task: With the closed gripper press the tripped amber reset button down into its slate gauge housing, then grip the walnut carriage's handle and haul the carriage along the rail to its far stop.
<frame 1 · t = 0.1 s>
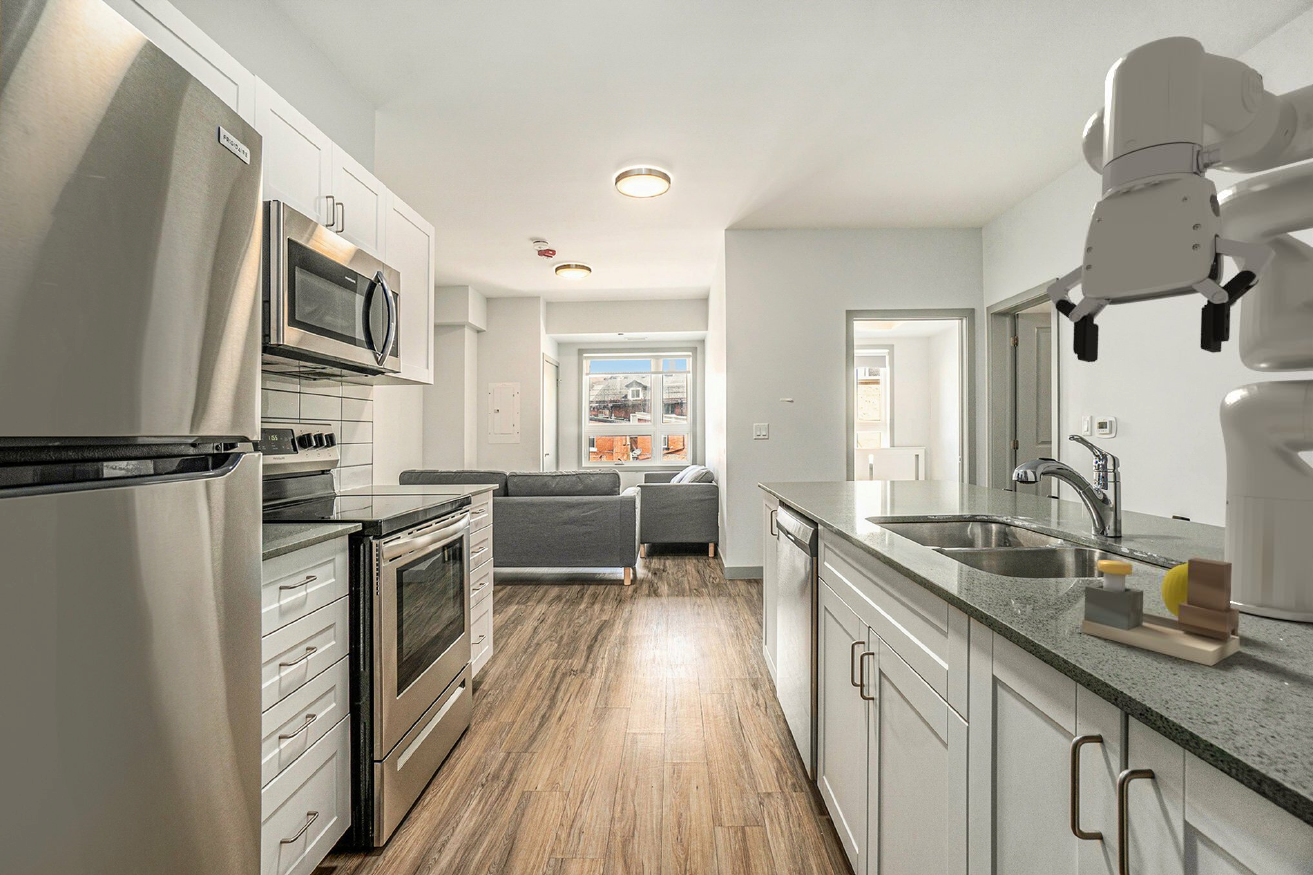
hand: (1144, 356, 57), 31 cm above the countertop, tool pointing down, fingers open, 9 cm apart
carriage: (1208, 596, 65), point 6 cm above the countertop, slide at 0.0 cm
lemon: (1189, 627, 73), on the countertop
reset button: (1114, 584, 69), point 6 cm above the countertop, slide at 0.0 cm
rail base: (1157, 641, 67), on the countertop
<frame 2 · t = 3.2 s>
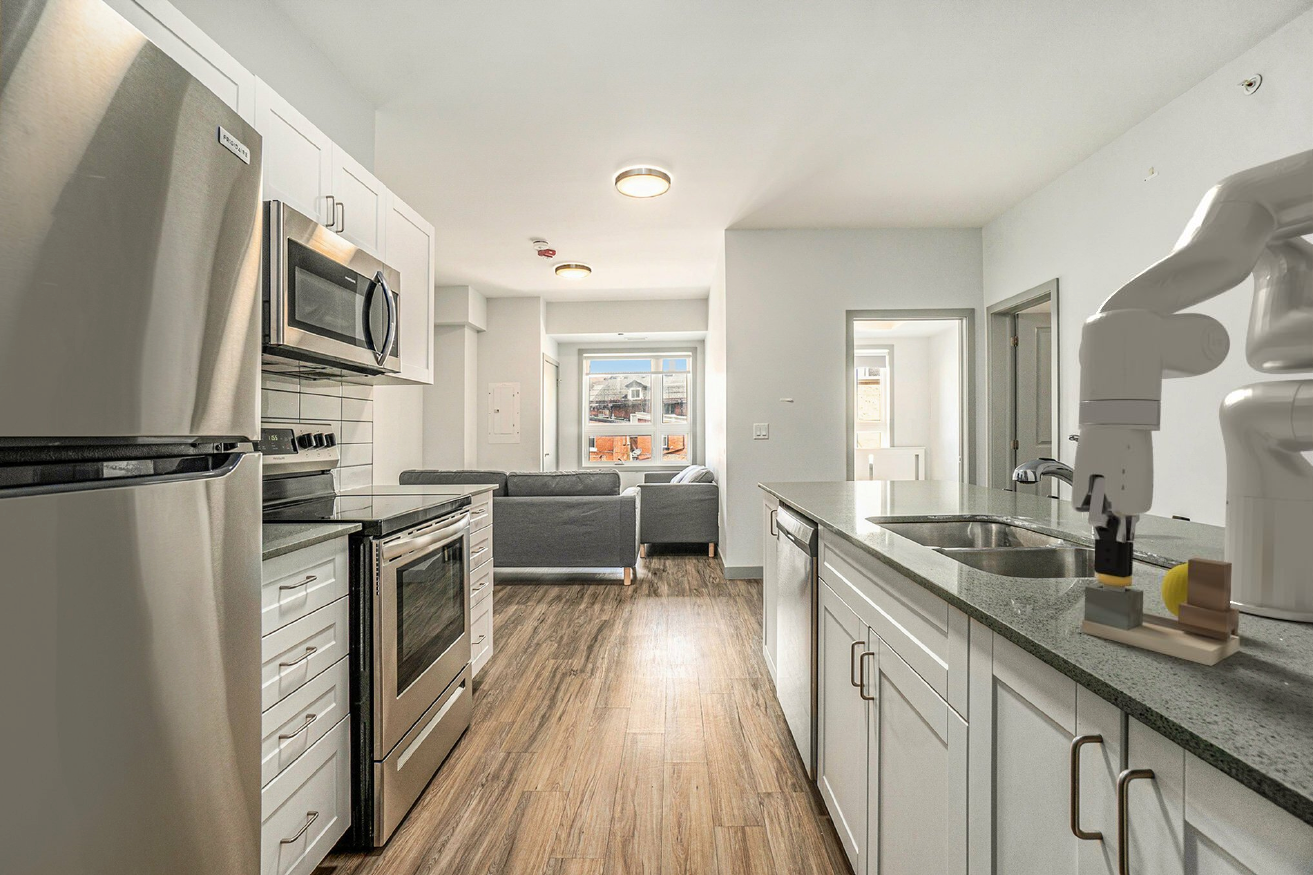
hand: (1112, 574, 69), 7 cm above the countertop, tool pointing down, fingers closed
reset button: (1113, 595, 69), point 5 cm above the countertop, slide at 1.3 cm, touching gripper
everything else where it was.
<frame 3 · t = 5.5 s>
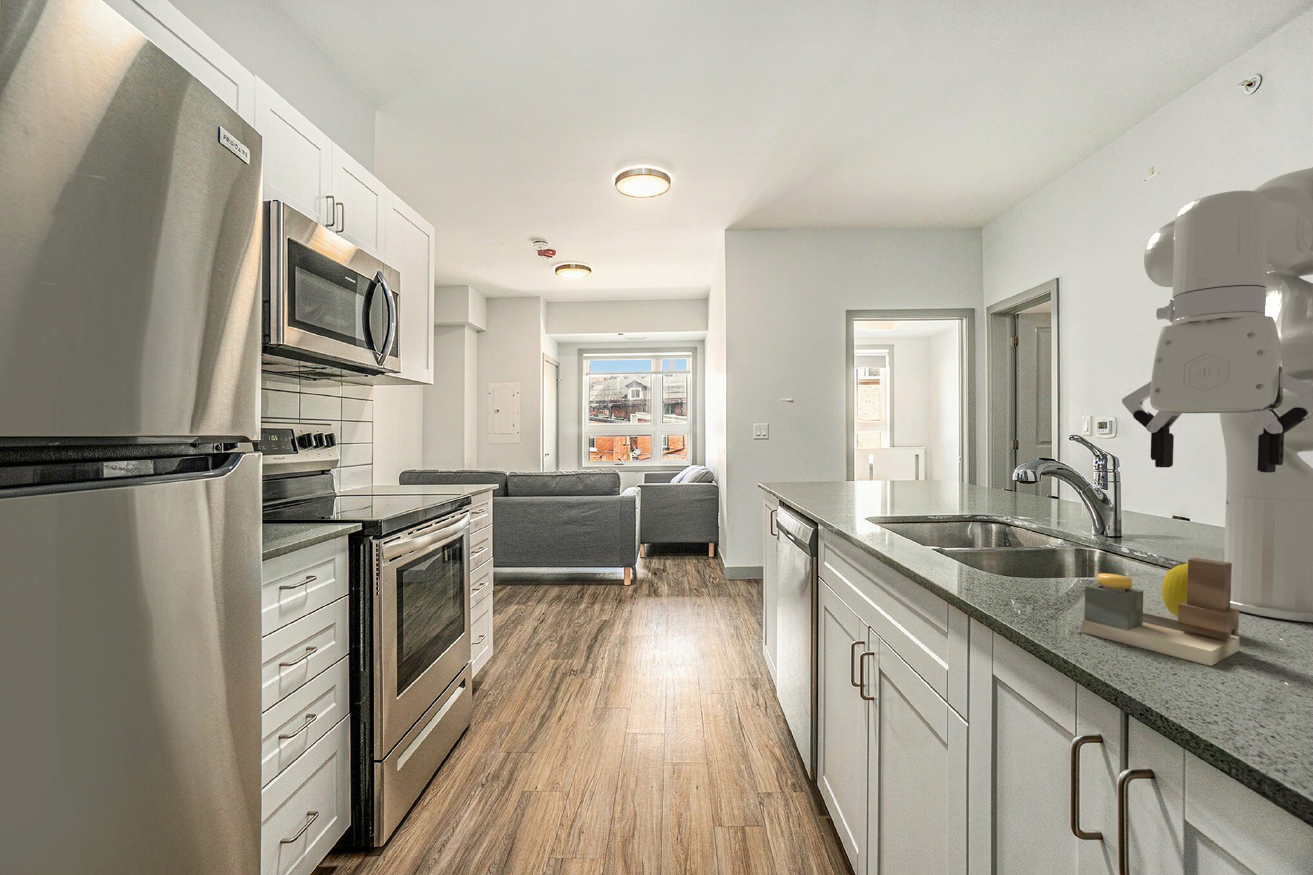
hand: (1212, 468, 65), 20 cm above the countertop, tool pointing down, fingers open, 8 cm apart
reset button: (1113, 597, 69), point 4 cm above the countertop, slide at 1.6 cm
everything else where it was.
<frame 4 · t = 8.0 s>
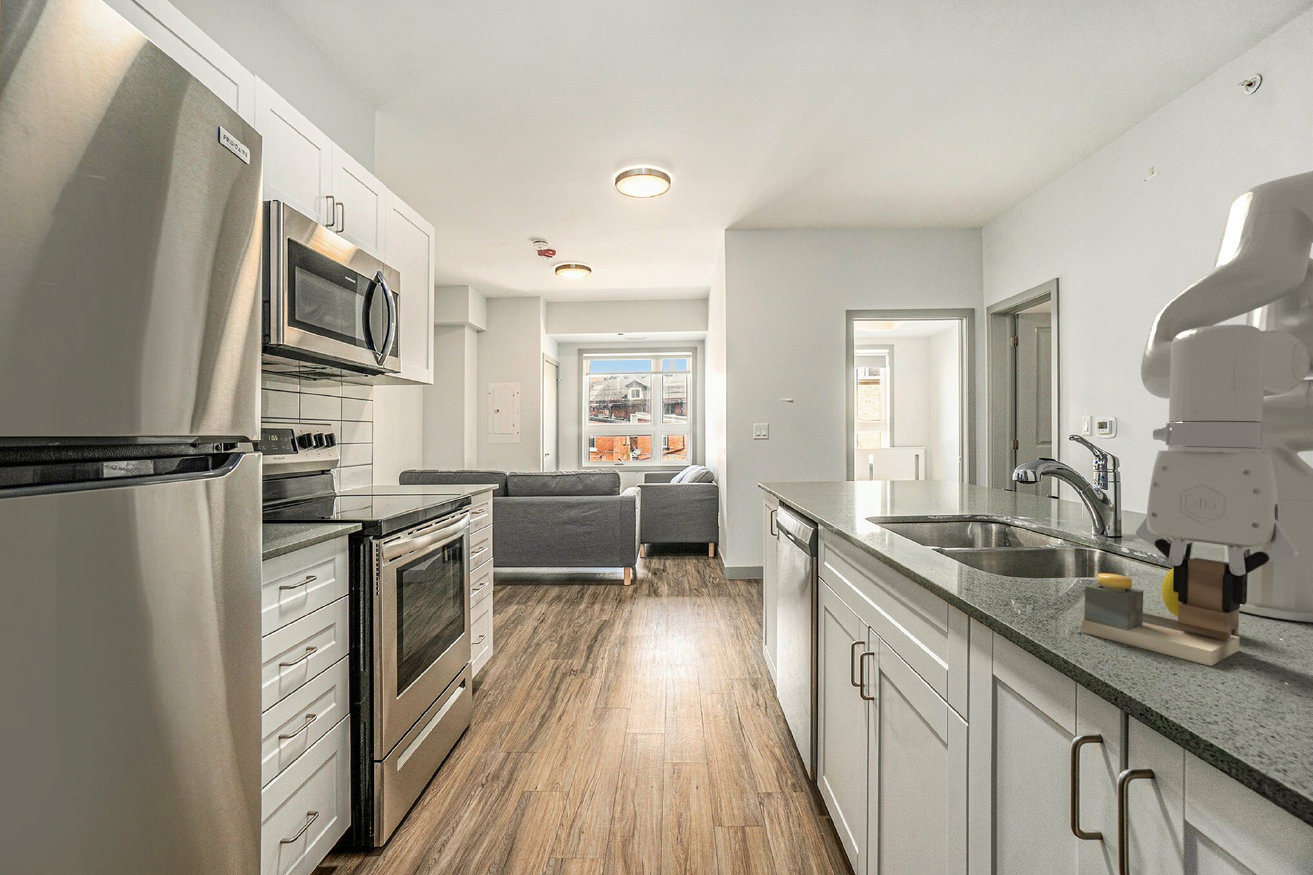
hand: (1208, 603, 65), 5 cm above the countertop, tool pointing down, fingers closed on carriage, 3 cm apart
carriage: (1208, 596, 65), point 6 cm above the countertop, slide at 0.0 cm, touching gripper
everything else where it was.
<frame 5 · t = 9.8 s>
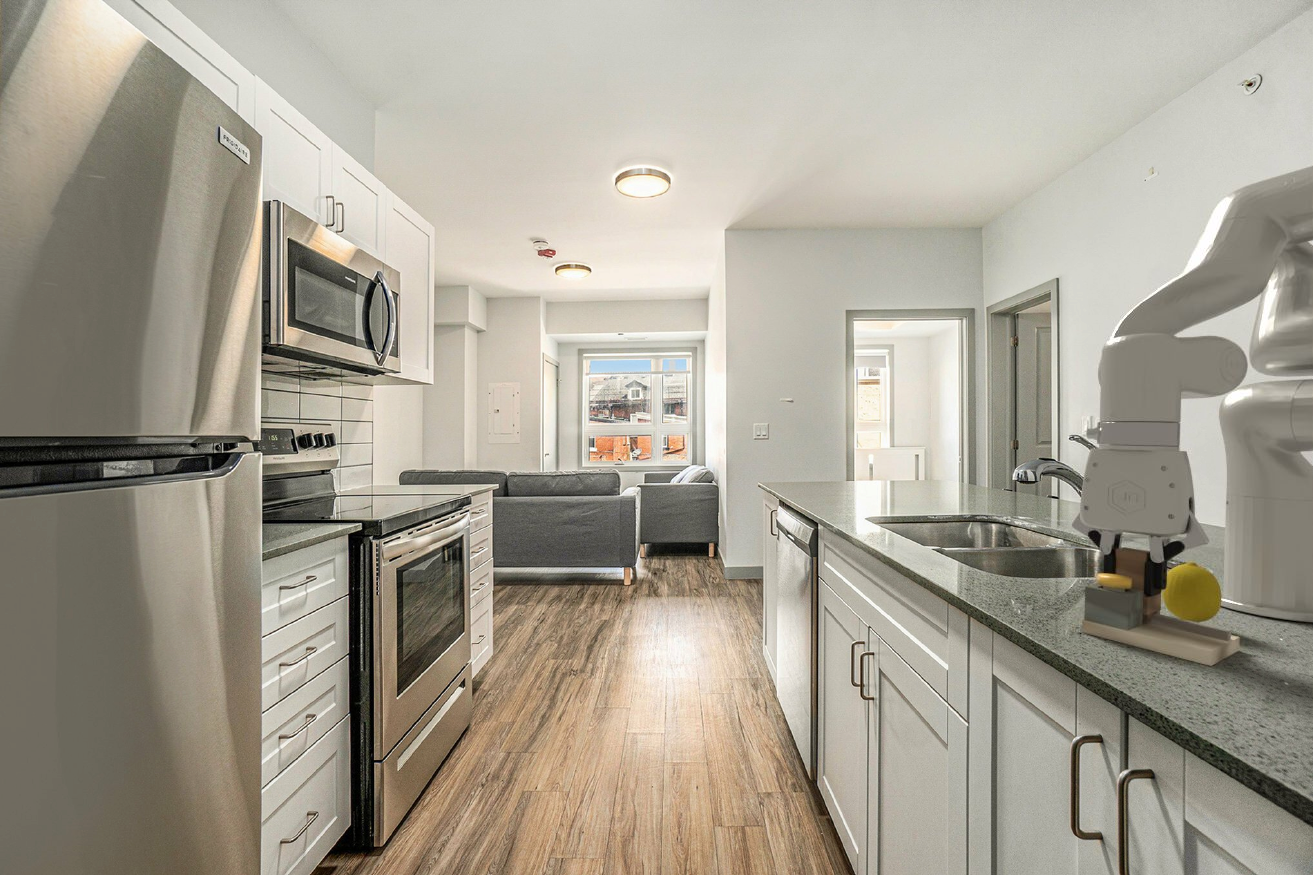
hand: (1134, 589, 71), 5 cm above the countertop, tool pointing down, fingers closed on carriage, 3 cm apart
carriage: (1134, 582, 71), point 6 cm above the countertop, slide at 6.8 cm, touching gripper
everything else where it was.
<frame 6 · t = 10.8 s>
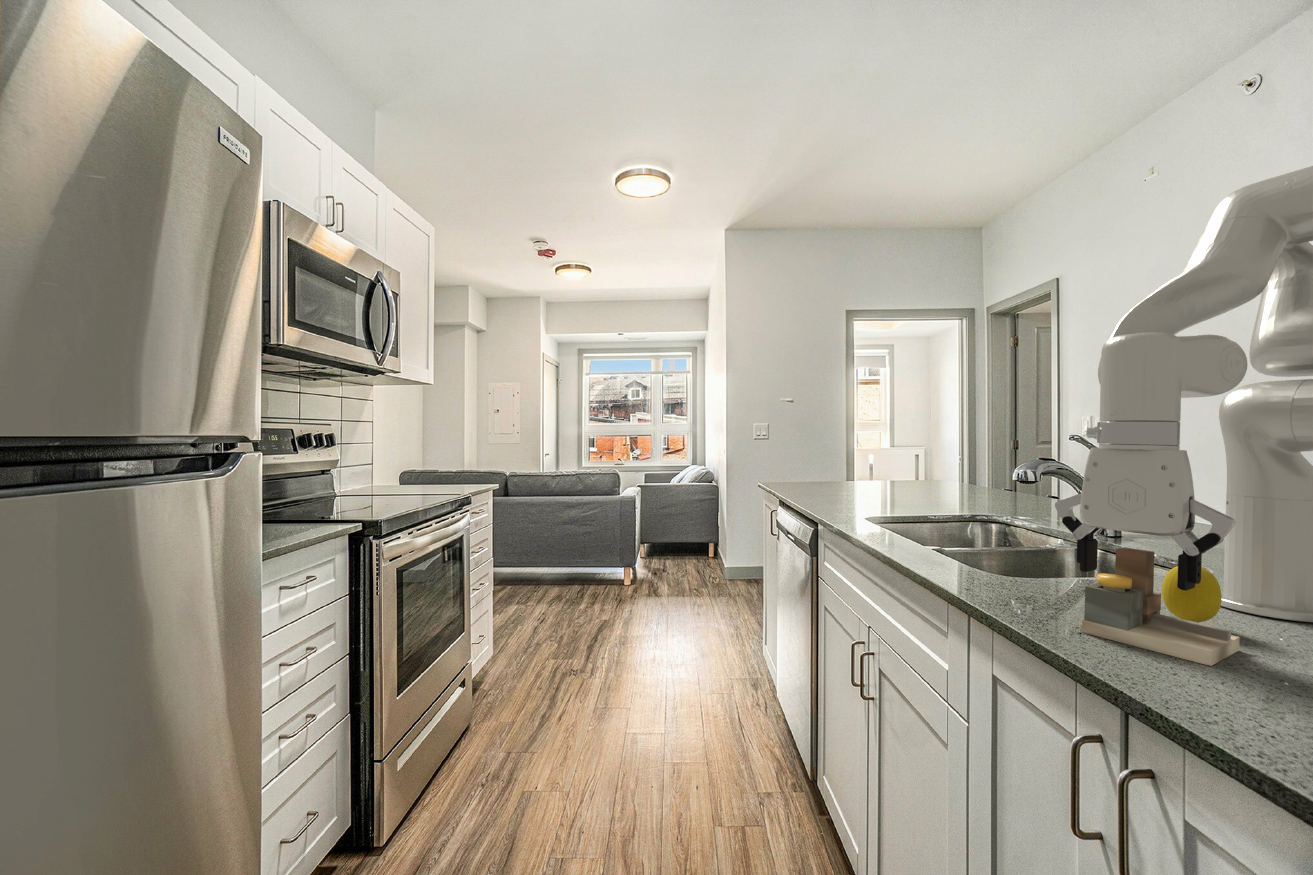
hand: (1134, 579, 71), 6 cm above the countertop, tool pointing down, fingers open, 9 cm apart
carriage: (1134, 582, 71), point 6 cm above the countertop, slide at 6.8 cm
everything else where it was.
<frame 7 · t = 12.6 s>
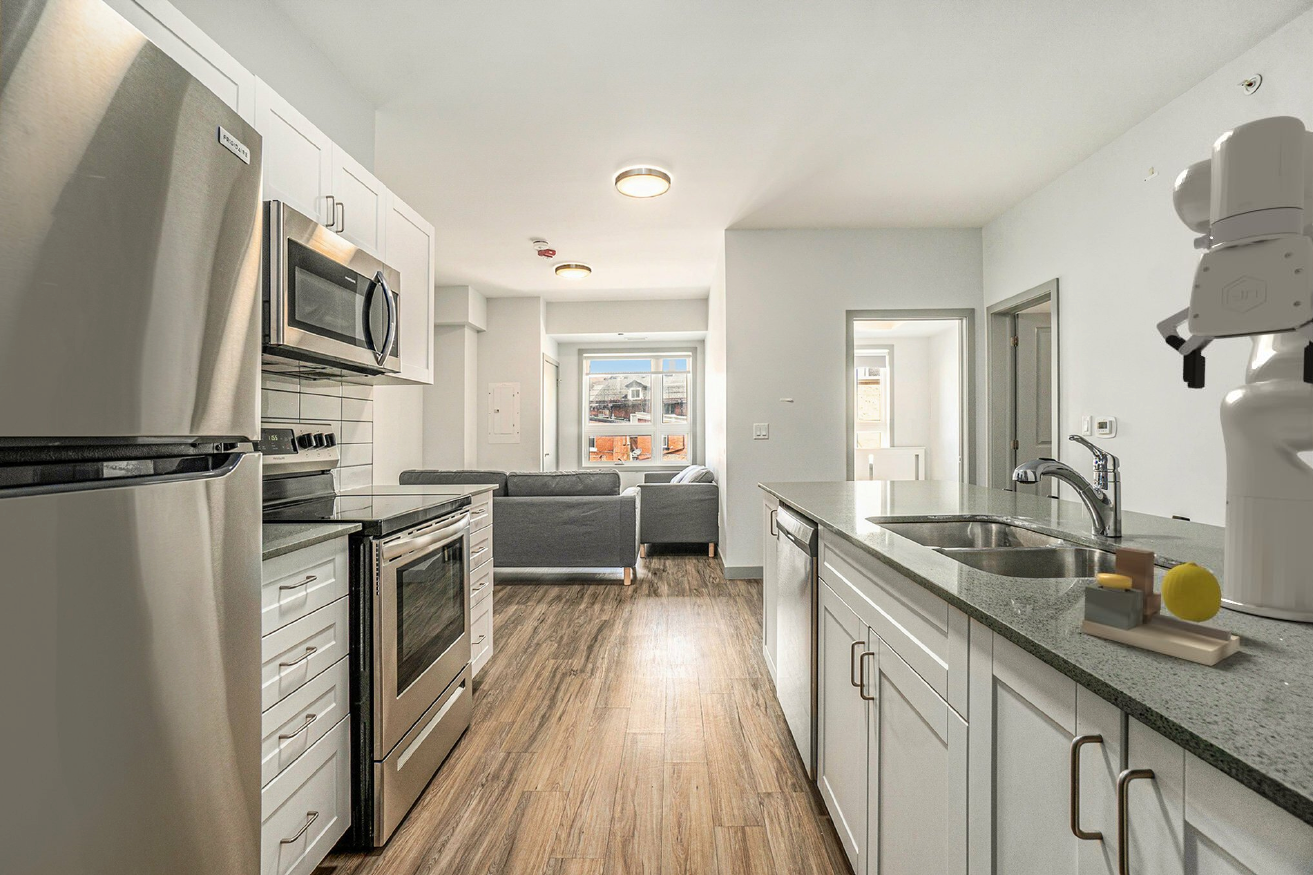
hand: (1250, 385, 67), 29 cm above the countertop, tool pointing down, fingers open, 9 cm apart
nothing on the countertop moved.
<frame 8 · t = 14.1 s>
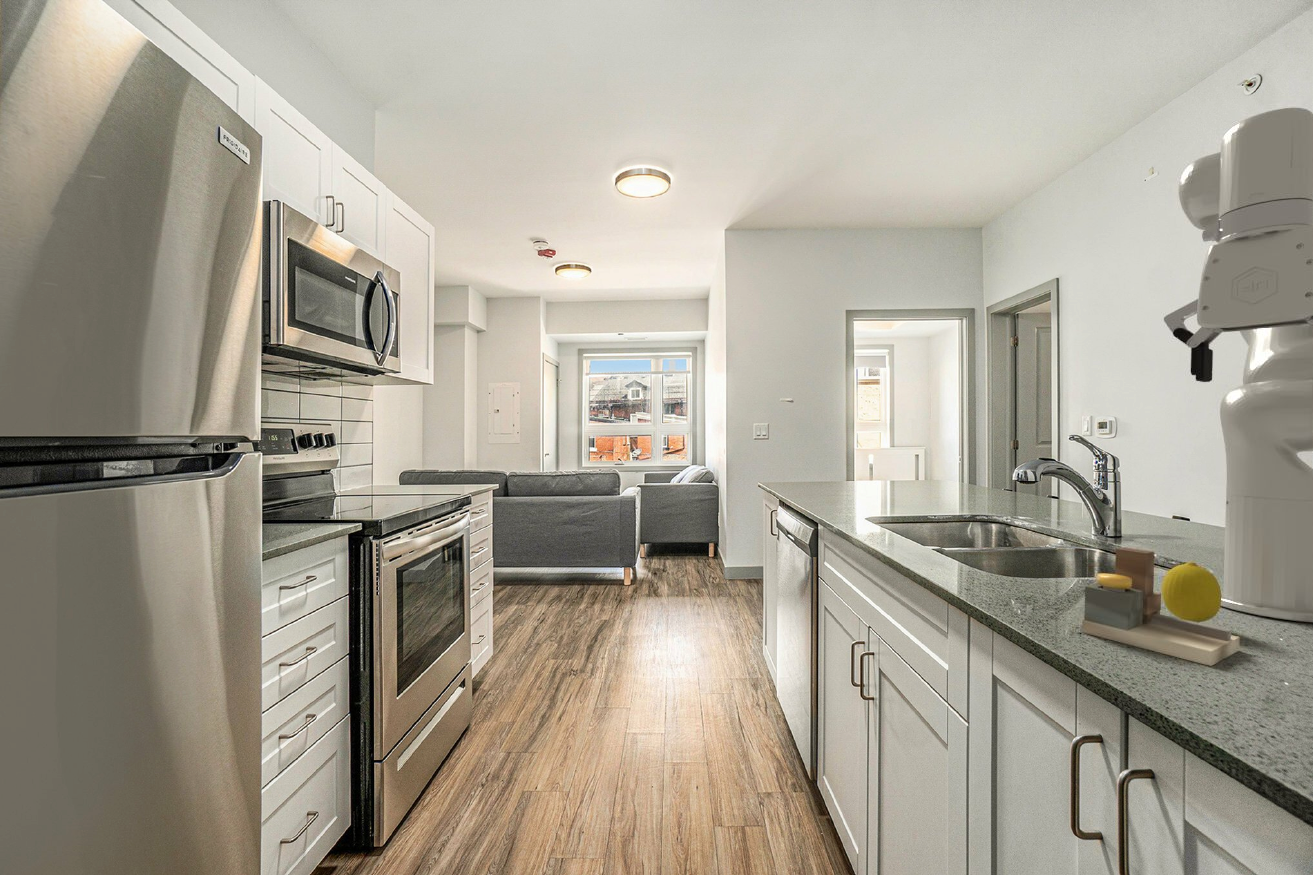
hand: (1259, 378, 67), 30 cm above the countertop, tool pointing down, fingers open, 9 cm apart
nothing on the countertop moved.
at the end: carriage slide at 6.8 cm; reset button slide at 1.6 cm; the gripper is holding nothing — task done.
